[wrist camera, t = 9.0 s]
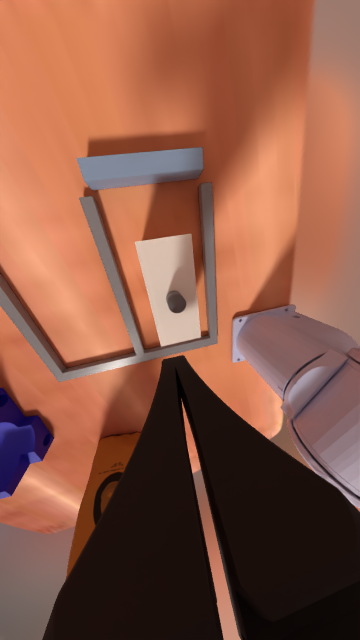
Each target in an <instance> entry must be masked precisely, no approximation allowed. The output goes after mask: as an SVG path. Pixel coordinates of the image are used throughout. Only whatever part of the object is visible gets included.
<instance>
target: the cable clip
mask: <svg viewBox="0 0 360 640" xmlns="http://www.w3.org/2000/svg"><path fill="white" fill-rule="evenodd" d="M53 439H54V437H53V436H52V434H51V433H50V432H49V430H48V429H47V427H46V426H45V425H44V423H43V422H42V420H41V419H40V418H39V416H38V415H36V416H30V417H25V416H24V415H23V413H22V412H21V411H20V409H19V408H18V407H17V406H16V404H15V403H14V402H13V400H12V399H11V398H10V397H9V395H8V394H7V393H6V391H5V390H4V389H3V388H0V499H1V498H5V497H9V496H12V494H13V493H14V491H15V489H16V487H17V486H18V484H19V482H20V480H21V479H22V477H23V475H24V473H25V472H26V470H27V468H28V466H29V465H30V464H31V463H35V462H40V461H42V460H43V459H44V457H45V455H46V453H47V451H48V449H49V447H50V445H51V443H52V441H53Z"/></svg>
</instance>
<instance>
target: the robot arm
mask: <svg viewBox="0 0 360 640" xmlns="http://www.w3.org/2000/svg"><path fill="white" fill-rule="evenodd" d="M285 309H286V310H285ZM295 309H296V306H295V305H287V306H283V307H278V308H274V309H270V310H265V311H261V312H256V313H252V314H247V315H243V316H239V317H235V318H234V319H233V321H232V362H233V363H236V362H240V361H244V360H247V362H248V363H249V364H250V365H251V366H252V367H253V368H254V369H255V370H256V372H257V373H258V374H259V375H260V376H261V377H262V378H263V379H264V380H265V381H266V383H267V384H268V385H269V386H270V387H271V388H272V389H273V390H274V391H275V393H276V394H277V395H278V396H279V397H280V398H281V399H282V400H283V401H284V403H283V405H282V406H281V409H282V410H283V411H284V412H285V414H286V415H287V416H288V417H289V418H288V420H287V427H288V431H289V434H290V436H291V438H292V440H293V442H294V444H295V446H296V448H297V449H298V451H299V453H300V454H301V456H302V457H303V458H304V460H305V461H306V462H307V464H308V465H309V466H310V467H311V468H312V469H313V471H314V472H313V471H312V470H310V469H309V468H307V467H306V466H304V465H303V464H302V463H300V462H299V461H297V460H296V459H295V458H293V457H292V456H290V455H289V454H288V453H286V452H285V451H283V450H282V449H281V448H279V447H278V446H277V445H275V444H274V443H273V442H271V441H270V440H269V439H267V438H266V437H265V436H264V435H262V434H261V433H260V432H258V431H257V430H256V429H255V428H253V427H252V426H251V425H250V424H248V423H247V422H246V421H245V420H243V419H242V418H241V417H240V416H239V415H238V414H236V413H235V412H234V411H233V410H232V409H231V408H230V407H228V406H227V405H226V404H225V403H224V402H223V401H222V400H221V399H220V398H219V397H218V396H217V395H216V394H215V393H214V392H213V391H212V390H211V389H210V388H209V387H208V386H207V385H206V384H205V383H204V381H203V380H202V379H201V378H200V377H199V376H198V374H197V373H196V372H195V371H194V369H193V368H192V367H191V365H190V364H189V363H188V361H187V359H186V358H185V356H183V355H181V356H177V357H173V358H168V359H164V360H163V361H162V367H161V373H160V378H159V382H158V385H157V389H156V393H155V396H154V399H153V402H152V405H151V408H150V411H149V414H148V417H147V419H146V422H145V424H144V427H143V429H142V432H141V434H140V437H139V439H138V441H137V443H136V446H135V448H134V450H133V453H132V455H131V457H130V459H129V461H128V463H127V465H126V468H125V470H124V472H123V474H122V476H121V478H120V480H119V482H118V484H117V486H116V488H115V490H114V492H113V494H112V496H111V498H110V500H109V501H108V503H107V505H106V507H105V509H104V511H103V513H102V515H101V517H100V519H99V521H98V523H97V524H96V526H95V528H94V530H93V532H92V533H91V535H90V537H89V539H88V541H87V543H86V544H85V546H84V548H83V550H82V552H81V553H80V555H79V557H78V559H77V561H76V563H75V564H74V566H73V568H72V570H71V572H70V574H69V575H68V577H67V579H66V581H65V583H64V585H63V586H62V588H61V590H60V592H59V594H58V596H57V599H56V601H55V604H54V607H53V610H52V613H51V616H50V619H49V622H48V624H47V627H46V630H45V633H44V636H43V639H42V640H223V634H222V629H221V623H220V618H219V613H218V607H217V598H216V593H215V589H214V582H213V578H212V572H211V568H210V562H209V557H208V552H207V547H206V542H205V537H204V531H203V526H202V521H201V516H200V510H199V505H198V500H197V495H196V490H195V484H194V479H193V474H192V469H191V464H190V458H189V453H188V447H187V441H186V433H185V425H184V416H183V408H182V402H183V405H184V408H185V411H186V415H187V418H188V421H189V424H190V428H191V431H192V434H193V438H194V441H195V445H196V449H197V453H198V458H199V462H200V466H201V471H202V475H203V479H204V484H205V488H206V492H207V496H208V501H209V506H210V510H211V514H212V519H213V523H214V527H215V532H216V537H217V541H218V545H219V550H220V554H221V559H222V563H223V568H224V572H225V577H226V581H227V585H228V590H229V594H230V599H231V603H232V607H233V611H234V616H235V621H236V625H237V629H238V633H239V636H240V638H241V640H360V512H359V511H358V510H357V509H356V508H355V506H357V507H358V508H360V346H359V345H358V344H357V342H356V341H355V340H354V339H353V338H352V337H351V336H349V335H348V334H347V333H345V332H343V331H341V330H339V329H337V328H334V327H332V326H330V325H327V324H324V323H322V322H320V321H317V320H314V319H312V318H309V317H307V316H304V315H302V314H299V313H297V312H295ZM240 319H241V320H240ZM239 320H240V321H239ZM181 398H182V400H181ZM354 505H355V506H354Z"/></svg>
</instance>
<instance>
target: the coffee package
mask: <svg viewBox="0 0 360 640" xmlns="http://www.w3.org/2000/svg"><path fill="white" fill-rule="evenodd" d="M139 437H140V433H138V432H136V433H134V434H124V435H120V436H109V437H106V438H102V439H100V441H99V444H98V447H97V451H96V454H95V457H94V460H93V464H92V469H91V473H90V477H89V481H88V484H87V487H86V490H85V493H84V496H83V499H82V502H81V505H80V509H79V513H78V517H77V522H76V526H75V532H74V537H73V541H72V547H71V551H70V556H69V562H68V569H67V576H66V579H67V577H68V575H69V574H70V572H71V570H72V568H73V566H74V564H75V563H76V561H77V559H78V557H79V555H80V553H81V552H82V550H83V548H84V546H85V544H86V543H87V541H88V539H89V537H90V535H91V533H92V532H93V530H94V528H95V526H96V524H97V523H98V521H99V519H100V517H101V515H102V513H103V511H104V509H105V507H106V505H107V503H108V501H109V500H110V498H111V496H112V494H113V492H114V490H115V488H116V486H117V484H118V482H119V480H120V478H121V476H122V474H123V472H124V470H125V468H126V465H127V463H128V461H129V459H130V457H131V455H132V453H133V450H134V448H135V446H136V443H137V441H138V439H139Z"/></svg>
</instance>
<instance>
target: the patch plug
mask: <svg viewBox="0 0 360 640" xmlns="http://www.w3.org/2000/svg"><path fill="white" fill-rule="evenodd" d="M135 245H136V249H137V253H138V257H139V261H140V265H141V269H142V273H143V277H144V281H145V285H146V289H147V292H148V296H149V300H150V304H151V308H152V312H153V316H154V320H155V324H156V328H157V332H158V336H159V340H160V344H161V347H162V346H166V345H170V344H175V343H179V342H183V341H187V340H192V339H196V338H200V337H201V332H200V321H199V311H198V300H197V289H196V278H195V267H194V256H193V245H192V234H184V235H178V236H171V237H164V238H157V239H151V240H144V241H137V242H135Z"/></svg>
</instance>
